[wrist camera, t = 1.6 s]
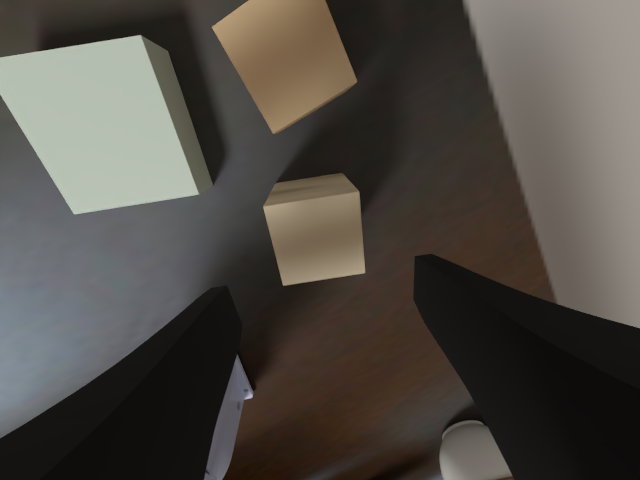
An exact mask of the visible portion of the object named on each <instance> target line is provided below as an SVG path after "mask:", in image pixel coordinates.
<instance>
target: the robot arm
mask: <svg viewBox="0 0 640 480" xmlns="http://www.w3.org/2000/svg"><path fill="white" fill-rule="evenodd" d="M413 299H414V302H415V304H416V306H417V308H418V310H419V312H420V314H421V316H422V318H423V320H424V322H425V324H426V326H427V327H428V329H429V330H430V332H431V333H432V335H433V337H434V338H435V340H436V341H437V343H438V344H439V346H440V347H441V349H442V350H443V352H444V353H445V355H446V357H447V358H448V360H449V361H450V363H451V364H452V366H453V367H454V369H455V370H456V372H457V373H458V375H459V376H460V378H461V380H462V381H463V383H464V385H465V386H466V388H467V390H468V391H469V393H470V395H471V396H472V398H473V400H474V402H475V404H476V406H477V408H478V410H479V411H480V413H481V415H482V417H483V419H484V421H485V423H486V425H487V426H488V428H489V430H490V432H491V434H492V436H493V438H494V440H495V442H496V444H497V446H498V448H499V450H500V452H501V454H502V456H503V458H504V460H505V462H506V464H507V466H508V468H509V470H510V472H511V474H512V476H513V478H514V480H640V328H636V327H633V326H629V325H625V324H622V323H618V322H614V321H611V320H607V319H603V318H600V317H597V316H593V315H590V314H586V313H583V312H580V311H576V310H573V309H570V308H567V307H564V306H561V305H558V304H555V303H552V302H549V301H546V300H543V299H540V298H537V297H534V296H532V295H529V294H526V293H524V292H521V291H519V290H516V289H513V288H511V287H508V286H506V285H503V284H501V283H498V282H496V281H493V280H491V279H489V278H486V277H484V276H482V275H479V274H477V273H475V272H472V271H470V270H468V269H466V268H463V267H461V266H459V265H457V264H454V263H452V262H450V261H448V260H445V259H443V258H441V257H438V256H435V255H433V254H427V255H421V256H415V268H414V298H413ZM241 331H242V324H241V321H240V318H239V316H238V313H237V311H236V308H235V305H234V303H233V300H232V297H231V295H230V292H229V289H228V287H227V286H221V287H215V288H211V289H209V290H208V291H206V292H205V293H204V294H203V295H201V296H200V297H199V298H198V299H196V300H195V301H194V302H193V303H192V304H190V305H189V306H188V307H187V308H186V309H185V310H183V311H182V312H181V313H180V314H179V315H177V316H176V317H175V318H174V319H173V320H171V321H170V322H169V323H168V324H167V325H165V326H164V327H163V328H162V329H161V330H159V331H158V332H157V333H156V334H154V335H153V336H152V337H150V338H149V339H148V340H147V341H145V342H144V343H143V344H142V345H140V346H139V347H138V348H137V349H135V350H134V351H133V352H131V353H130V354H129V355H127V356H126V357H125V358H123V359H122V360H121V361H119V362H118V363H117V364H115V365H114V366H113V367H111V368H110V369H108V370H107V371H105V372H104V373H103V374H101V375H100V376H98V377H97V378H95V379H94V380H92V381H91V382H90V383H88V384H87V385H85V386H84V387H82V388H81V389H79V390H78V391H76V392H74V393H73V394H71V395H70V396H68V397H67V398H65V399H63V400H62V401H60V402H59V403H57V404H56V405H54V406H52V407H51V408H49V409H48V410H46V411H45V412H43V413H41V414H40V415H38V416H37V417H35V418H34V419H32V420H30V421H29V422H27V423H26V424H24V425H22V426H21V427H19V428H17V429H16V430H14V431H12V432H10V433H9V434H7V435H5V436H4V437H2V438H0V480H222V479H223V477H224V475H225V473H226V471H227V469H228V467H229V464H230V461H231V457H232V453H233V448H234V444H235V439H236V435H237V430H238V425H239V421H240V416H241V412H242V407H243V403H244V399H250V398H252V397H253V390H252V388H251V386H250V383H249V381H248V378H247V376H246V374H245V371H244V369H243V366H242V364H241V362H240V359H239V357H238V354H237V353H238V349H239V343H240V337H241Z"/></svg>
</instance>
